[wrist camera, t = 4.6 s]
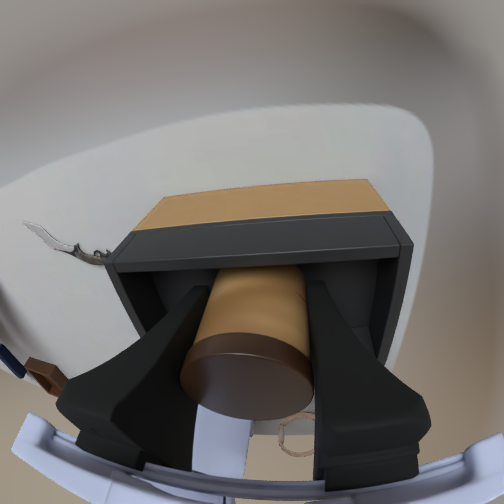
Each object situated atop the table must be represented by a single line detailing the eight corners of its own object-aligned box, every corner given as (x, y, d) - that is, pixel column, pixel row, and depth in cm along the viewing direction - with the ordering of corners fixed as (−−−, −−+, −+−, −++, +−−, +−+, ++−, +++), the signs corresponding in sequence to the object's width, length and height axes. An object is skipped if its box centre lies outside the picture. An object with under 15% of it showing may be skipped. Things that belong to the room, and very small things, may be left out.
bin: (366, 178, 14) (414, 243, 8) (362, 279, 17) (385, 365, 11) (163, 197, 16) (102, 263, 10) (190, 287, 19) (157, 367, 13)
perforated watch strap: (280, 410, 27) (276, 452, 23) (326, 408, 26) (326, 450, 22) (282, 420, 28) (279, 459, 24) (325, 418, 27) (325, 457, 23)
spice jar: (308, 244, 11) (315, 352, 7) (310, 321, 13) (312, 420, 9) (203, 251, 12) (159, 350, 7) (223, 323, 14) (200, 417, 10)
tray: (55, 365, 30) (49, 375, 28) (80, 393, 34) (75, 403, 32) (29, 357, 31) (23, 366, 30) (53, 384, 35) (48, 393, 33)
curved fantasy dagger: (113, 249, 18) (111, 252, 18) (114, 270, 19) (112, 272, 19) (19, 218, 18) (17, 220, 17) (23, 236, 19) (21, 238, 18)
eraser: (-1, 344, 33) (24, 370, 36) (-7, 352, 31) (19, 379, 34) (2, 342, 32) (28, 370, 35) (-4, 351, 30) (23, 379, 33)
